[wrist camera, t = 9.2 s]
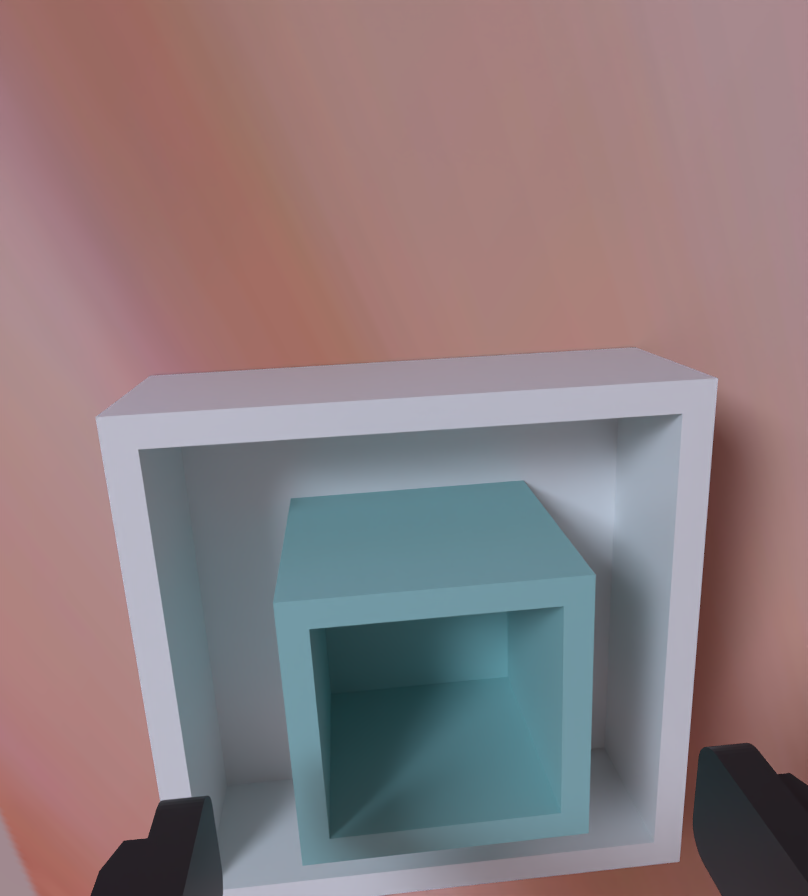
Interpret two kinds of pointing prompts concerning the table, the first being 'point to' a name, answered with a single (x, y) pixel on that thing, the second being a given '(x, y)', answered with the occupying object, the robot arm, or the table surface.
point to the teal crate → (434, 670)
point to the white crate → (398, 468)
